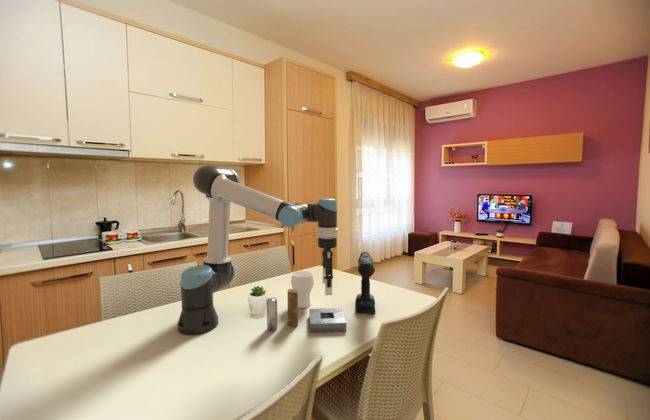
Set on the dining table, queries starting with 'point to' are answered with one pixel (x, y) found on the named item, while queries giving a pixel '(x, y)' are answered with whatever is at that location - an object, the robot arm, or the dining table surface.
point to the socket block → (327, 320)
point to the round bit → (271, 314)
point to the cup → (303, 287)
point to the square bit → (292, 307)
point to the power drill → (365, 285)
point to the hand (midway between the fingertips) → (327, 288)
